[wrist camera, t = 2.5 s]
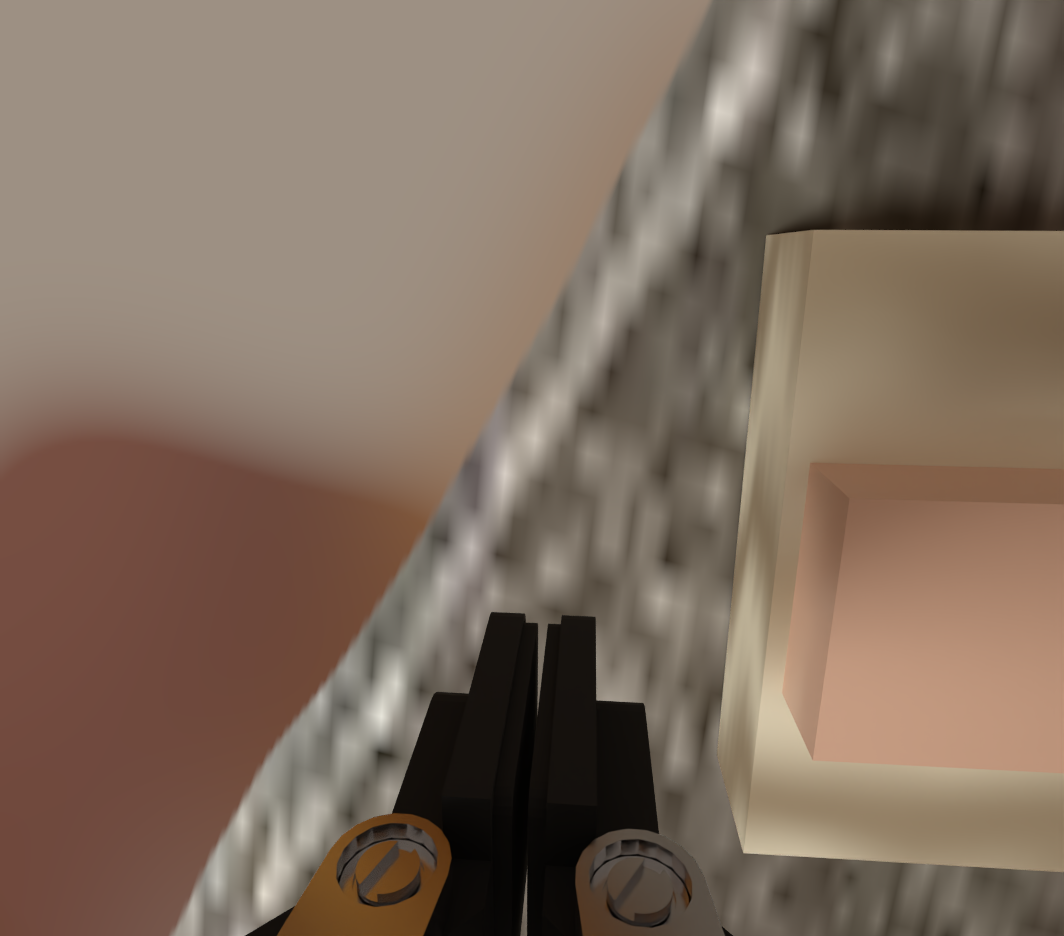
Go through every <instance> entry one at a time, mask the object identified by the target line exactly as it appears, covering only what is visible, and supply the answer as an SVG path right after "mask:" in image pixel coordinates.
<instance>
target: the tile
mask: <svg viewBox="0 0 1064 936" xmlns="http://www.w3.org/2000/svg"><path fill="white" fill-rule="evenodd" d="M782 694H783V697H784V699H785V701H786V703H787V705H788V708H789V710H790V712H791V714H792V716H793V718H794V721H795V723H796V725H797V727H798V729H799V732H800V734H801V736H802V738H803V740H804V743H805V745H806V747H807V749H808V751H809V754H810V756H811V758H812V760H813V761H831V762H850V763H870V764H889V765H909V766H929V767H948V768H968V769H987V770H1007V771H1026V772H1046V773H1064V469H1041V468H1002V467H962V466H922V465H883V464H843V463H810V468H809V476H808V485H807V493H806V501H805V509H804V517H803V525H802V534H801V542H800V550H799V558H798V566H797V574H796V583H795V591H794V599H793V607H792V615H791V623H790V632H789V640H788V648H787V656H786V664H785V672H784V681H783V689H782Z"/></svg>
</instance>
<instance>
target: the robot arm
mask: <svg viewBox="0 0 1064 936" xmlns="http://www.w3.org/2000/svg"><path fill="white" fill-rule="evenodd" d="M537 696H538V623H526V618H525V614H521V613H499V612H491V614H490V617H489V621H488V625H487V628H486V632H485V636H484V639H483V643H482V647H481V651H480V654H479V658H478V662H477V665H476V669H475V673H474V677H473V680H472V684H471V688H470V691H469V694H465V693H446V692H436V693H435V694H434V695H433V697H432V700H431V702H430V705H429V708H428V711H427V714H426V717H425V719H424V722H423V725H422V728H421V731H420V734H419V737H418V740H417V743H416V745H415V748H414V751H413V754H412V757H411V760H410V763H409V766H408V769H407V771H406V774H405V777H404V780H403V783H402V786H401V789H400V792H399V795H398V797H397V800H396V803H395V806H394V809H393V812H392V814H387V815H381V816H375V817H373V818H370V819H368V820H366V821H363V822H361V823H359V824H357V825H355V826H354V827H353V828H351V829H350V830H348V831H347V832H346V833H344V834H343V835H342V836H341V837H340V838H339V839H338V840H337V842H336V843H335V844H334V845H333V846H332V848H331V849H330V850H329V852H328V853H327V855H326V857H325V858H324V860H323V861H322V863H321V865H320V866H319V868H318V870H317V871H316V873H315V874H314V876H313V878H312V879H311V881H310V883H309V884H308V886H307V887H306V889H305V891H304V892H303V894H302V896H301V897H300V899H299V900H298V902H297V904H296V905H295V906H294V907H293V908H291V909H289V910H287V911H286V912H284V913H282V914H281V915H279V916H277V917H276V918H274V919H272V920H271V921H269V922H267V923H266V924H264V925H262V926H261V927H259V928H257V929H256V930H254V931H252V932H251V933H249V934H247V935H246V936H520V932H521V923H522V913H523V903H524V894H525V884H526V874H527V936H733V935H731V934H730V933H729V932H728V931H727V930H725V929H724V928H723V927H722V926H721V923H720V920H719V918H718V915H717V912H716V909H715V906H714V903H713V900H712V897H711V895H710V892H709V889H708V886H707V883H706V880H705V877H704V875H703V873H702V872H701V870H700V868H699V866H698V864H697V862H696V860H695V859H694V858H693V857H692V856H691V855H690V854H689V853H688V852H687V851H686V850H685V849H684V848H683V847H682V846H680V845H679V844H677V843H676V842H674V841H672V840H671V839H669V838H667V837H666V836H663V835H660V834H659V830H658V821H657V812H656V803H655V794H654V785H653V776H652V767H651V758H650V749H649V740H648V731H647V722H646V713H645V706H644V704H643V703H632V702H614V701H596V618H595V617H588V616H566V615H562V619H561V624H548V629H547V638H546V647H545V655H544V664H543V673H542V682H541V690H540V699H539V708H538V717H537Z"/></svg>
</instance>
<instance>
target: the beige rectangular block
mask: <svg viewBox="0 0 1064 936" xmlns="http://www.w3.org/2000/svg"><path fill="white" fill-rule="evenodd" d="M810 463H843V464H883V465H922V466H962V467H1002V468H1041V469H1064V231H952V230H808V231H800V232H791V233H782V234H774V235H766V245H765V256H764V266H763V277H762V287H761V298H760V308H759V319H758V329H757V340H756V350H755V361H754V371H753V382H752V392H751V403H750V413H749V423H748V434H747V444H746V455H745V465H744V476H743V486H742V497H741V507H740V518H739V528H738V539H737V549H736V560H735V570H734V581H733V591H732V602H731V612H730V623H729V633H728V644H727V654H726V665H725V675H724V686H723V696H722V707H721V717H720V728H719V738H718V749H717V757H718V760H719V764H720V768H721V771H722V775H723V779H724V783H725V786H726V790H727V794H728V798H729V801H730V805H731V809H732V812H733V816H734V820H735V824H736V827H737V831H738V835H739V838H740V842H741V846H742V850H743V853H751V854H768V855H785V856H801V857H818V858H835V859H852V860H869V861H885V862H902V863H919V864H936V865H953V866H970V867H986V868H1003V869H1020V870H1037V871H1054V872H1064V773H1046V772H1026V771H1007V770H987V769H968V768H948V767H929V766H909V765H889V764H870V763H850V762H831V761H813V760H812V758H811V756H810V754H809V751H808V749H807V747H806V745H805V743H804V740H803V738H802V736H801V734H800V732H799V729H798V727H797V725H796V723H795V721H794V718H793V716H792V714H791V712H790V710H789V708H788V705H787V703H786V701H785V699H784V697H783V694H782V689H783V681H784V672H785V664H786V656H787V648H788V640H789V632H790V623H791V615H792V607H793V599H794V591H795V583H796V574H797V566H798V558H799V550H800V542H801V534H802V525H803V517H804V509H805V501H806V493H807V485H808V476H809V468H810Z"/></svg>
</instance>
